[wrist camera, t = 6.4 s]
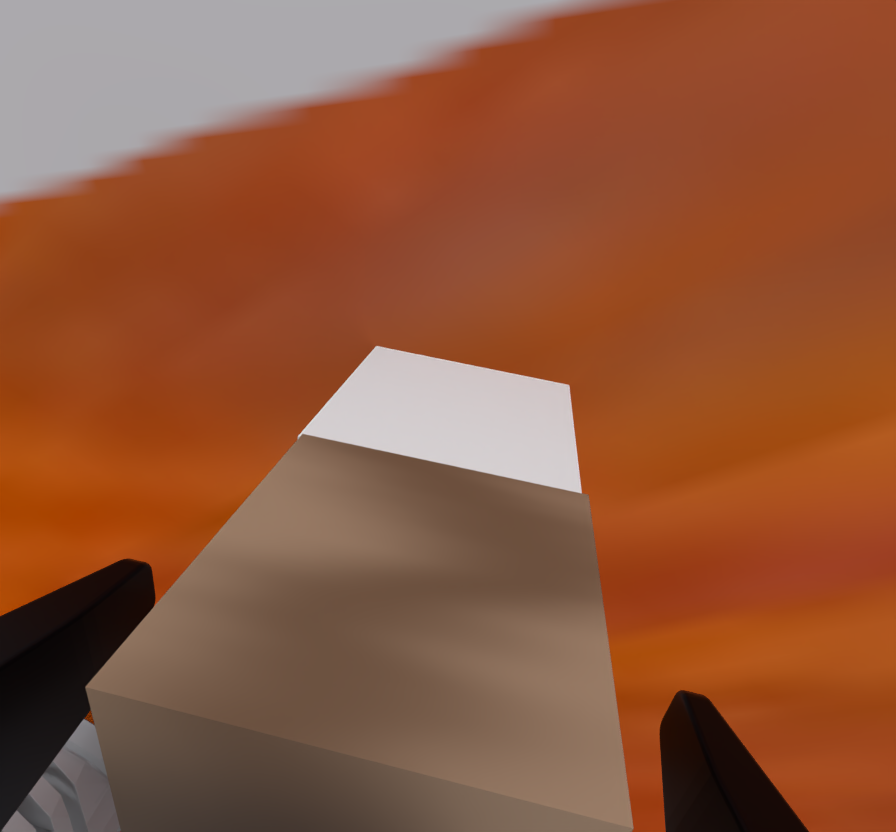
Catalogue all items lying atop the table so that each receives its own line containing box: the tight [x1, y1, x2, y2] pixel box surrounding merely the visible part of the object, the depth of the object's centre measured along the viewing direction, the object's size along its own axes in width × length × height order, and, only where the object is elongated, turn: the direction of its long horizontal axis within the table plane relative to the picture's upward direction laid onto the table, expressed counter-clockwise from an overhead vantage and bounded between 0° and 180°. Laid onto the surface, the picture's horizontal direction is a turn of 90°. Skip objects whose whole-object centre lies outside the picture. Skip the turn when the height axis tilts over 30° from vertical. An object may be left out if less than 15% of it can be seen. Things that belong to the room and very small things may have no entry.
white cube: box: [298, 346, 582, 493], centre depth 13 cm, size 5×5×5 cm
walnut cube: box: [85, 434, 634, 832], centre depth 8 cm, size 5×5×5 cm
